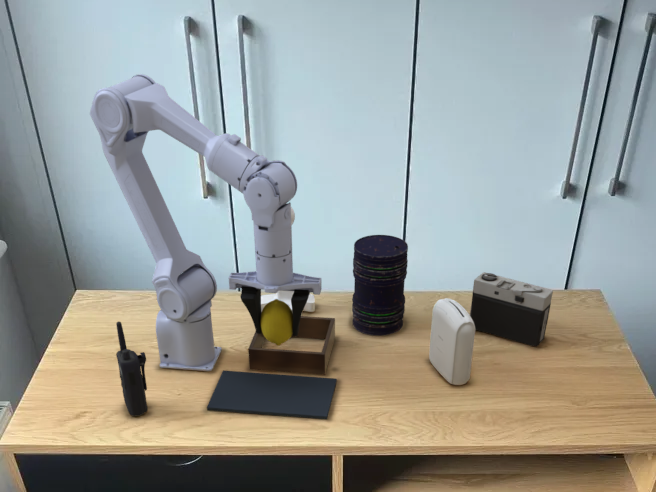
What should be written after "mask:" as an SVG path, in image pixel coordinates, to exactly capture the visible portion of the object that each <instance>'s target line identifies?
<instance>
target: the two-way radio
mask: <svg viewBox="0 0 656 492" xmlns="http://www.w3.org/2000/svg"><path fill="white" fill-rule="evenodd" d="M116 331H117V338H118V344H119V350H117V351H116V355H115V357H116V360H117V365H118V372H119V379H120V385H121V388H122V395H123V400H124V404H125V407H126V409H127V412H128V414H129V415H130V416H132V417H140V416H143V415H144V414H145V413H146V412H147V411H148V403H147V396H146V391H148V387H147V386H148V385H147V380H146V372H145V371H146V370H145V369H146V368H145V367H146V362H147V356H146V353H145V352H144V351H141V352H139V354H137V353H136V352H135V351H134V350H131V349H129V348H127V343H126V337H125V333H124V328H123V324H122V322H121V321H117V322H116Z"/></svg>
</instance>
